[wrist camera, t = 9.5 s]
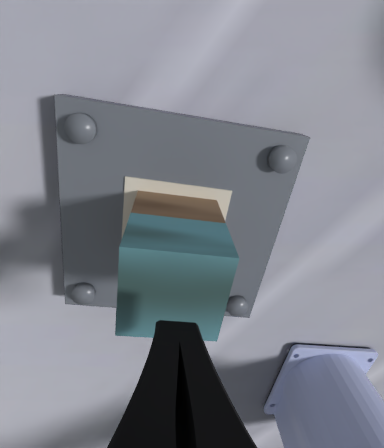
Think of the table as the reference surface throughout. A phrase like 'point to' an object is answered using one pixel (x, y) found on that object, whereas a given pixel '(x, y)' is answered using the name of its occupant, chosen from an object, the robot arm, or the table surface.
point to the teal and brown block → (174, 265)
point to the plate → (165, 186)
